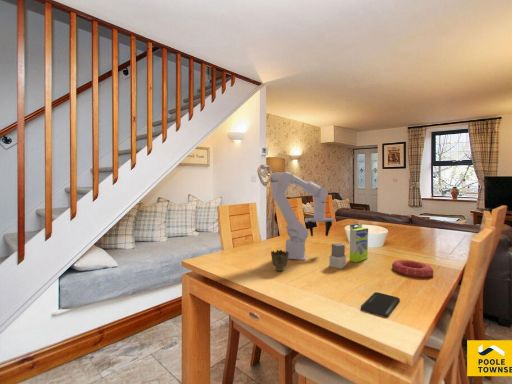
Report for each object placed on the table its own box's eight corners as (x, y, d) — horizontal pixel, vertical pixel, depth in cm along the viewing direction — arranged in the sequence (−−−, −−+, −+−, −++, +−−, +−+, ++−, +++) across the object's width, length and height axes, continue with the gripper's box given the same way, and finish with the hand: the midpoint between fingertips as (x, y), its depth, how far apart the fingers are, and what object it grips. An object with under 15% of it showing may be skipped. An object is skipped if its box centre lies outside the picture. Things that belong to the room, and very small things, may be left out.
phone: (400, 298, 89) (387, 315, 78) (400, 301, 90) (387, 319, 78) (375, 291, 95) (359, 307, 83) (375, 294, 95) (359, 310, 83)
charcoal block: (336, 257, 122) (336, 245, 122) (331, 254, 126) (331, 243, 126) (344, 256, 124) (344, 245, 123) (339, 254, 127) (339, 243, 127)
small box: (334, 263, 129) (334, 253, 129) (346, 266, 126) (346, 255, 125) (328, 266, 125) (329, 255, 125) (341, 269, 121) (341, 258, 121)
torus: (384, 268, 123) (384, 260, 123) (410, 265, 127) (410, 257, 127) (413, 280, 108) (413, 271, 108) (442, 277, 112) (442, 268, 111)
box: (356, 262, 130) (356, 225, 129) (348, 260, 133) (348, 224, 133) (368, 258, 137) (369, 223, 136) (360, 256, 140) (361, 222, 139)
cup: (276, 274, 114) (276, 255, 113) (267, 269, 120) (267, 251, 120) (291, 271, 117) (292, 252, 117) (282, 266, 124) (282, 249, 123)
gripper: (306, 210, 141) (306, 237, 141) (335, 210, 141) (335, 237, 141) (304, 209, 148) (304, 234, 148) (331, 209, 148) (331, 234, 148)
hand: (319, 235), depth 145 cm, fingers open, 7 cm apart
